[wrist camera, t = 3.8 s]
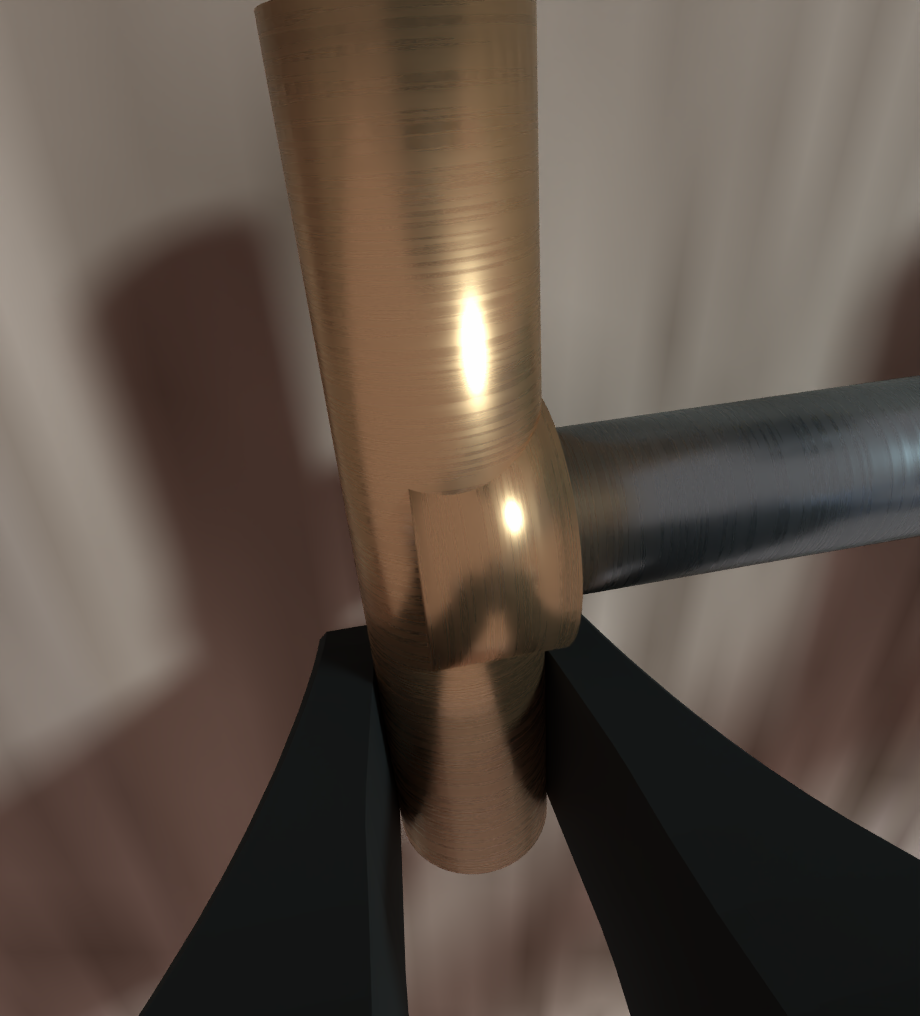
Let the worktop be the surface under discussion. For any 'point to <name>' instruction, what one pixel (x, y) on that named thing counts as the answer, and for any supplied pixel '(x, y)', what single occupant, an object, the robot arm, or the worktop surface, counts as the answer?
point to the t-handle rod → (508, 409)
